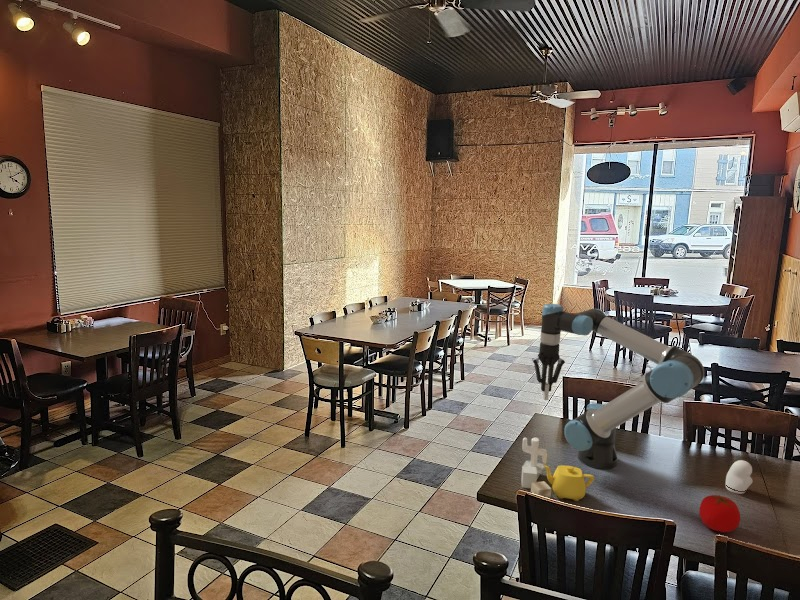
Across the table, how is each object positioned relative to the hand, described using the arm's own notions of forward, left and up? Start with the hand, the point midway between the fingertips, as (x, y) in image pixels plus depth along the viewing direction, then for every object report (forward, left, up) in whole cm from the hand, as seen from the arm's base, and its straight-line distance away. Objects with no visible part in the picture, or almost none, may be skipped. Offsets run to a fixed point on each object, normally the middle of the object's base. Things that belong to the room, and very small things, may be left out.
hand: (545, 398), depth 214 cm
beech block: (+9, +33, -25) cm, 42 cm away
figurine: (+8, +17, -25) cm, 31 cm away
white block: (+11, +24, -25) cm, 36 cm away
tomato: (-45, +48, -25) cm, 70 cm away
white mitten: (-66, +25, -25) cm, 75 cm away
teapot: (-1, +30, -25) cm, 39 cm away
